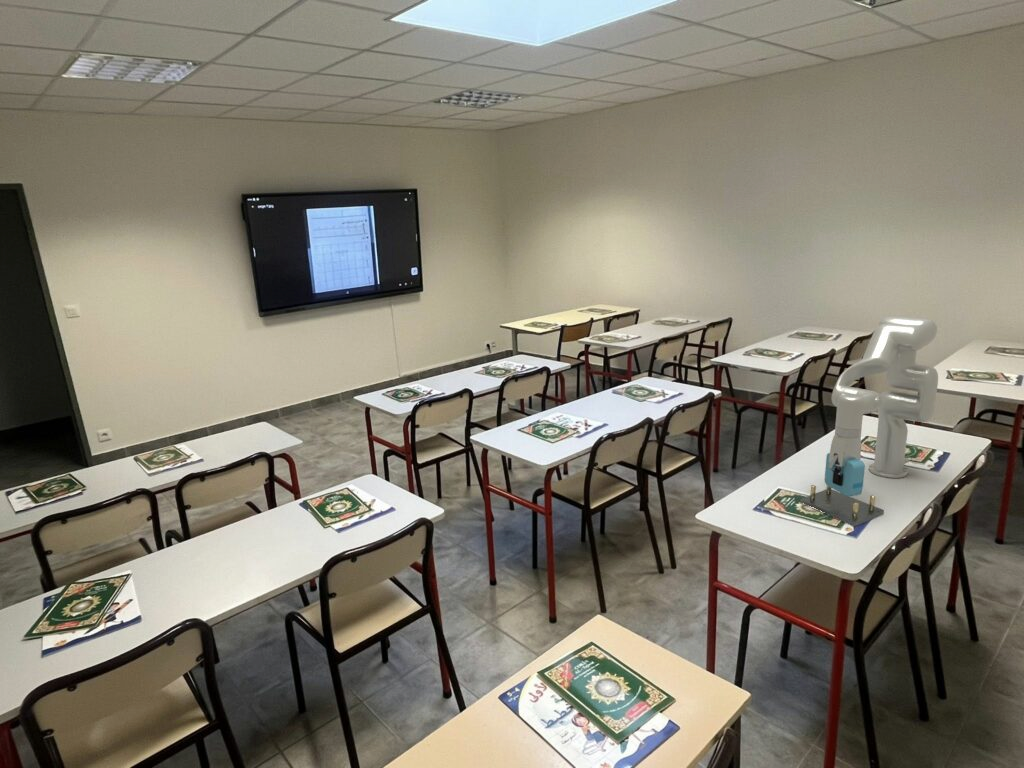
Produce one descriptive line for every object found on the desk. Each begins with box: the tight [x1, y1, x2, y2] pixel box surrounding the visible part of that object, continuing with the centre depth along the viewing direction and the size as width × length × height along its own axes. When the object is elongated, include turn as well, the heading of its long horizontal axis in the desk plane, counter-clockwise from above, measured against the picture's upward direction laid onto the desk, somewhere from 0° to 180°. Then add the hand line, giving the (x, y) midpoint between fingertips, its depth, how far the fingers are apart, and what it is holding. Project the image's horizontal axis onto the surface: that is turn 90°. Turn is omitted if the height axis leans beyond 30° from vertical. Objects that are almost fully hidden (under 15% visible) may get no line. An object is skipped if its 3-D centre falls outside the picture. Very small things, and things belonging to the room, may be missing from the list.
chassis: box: [799, 484, 885, 527], centre depth 206 cm, size 15×20×6 cm
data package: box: [824, 452, 866, 497], centre depth 203 cm, size 12×4×12 cm, turn 15°
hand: (843, 481), depth 204 cm, fingers closed on data package, 5 cm apart
